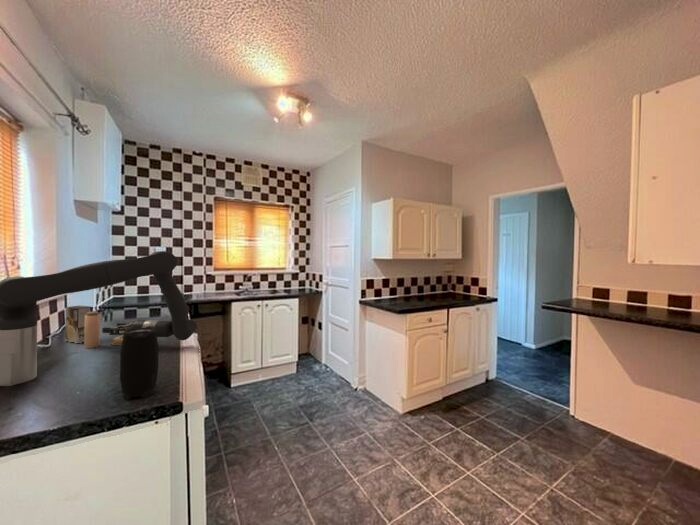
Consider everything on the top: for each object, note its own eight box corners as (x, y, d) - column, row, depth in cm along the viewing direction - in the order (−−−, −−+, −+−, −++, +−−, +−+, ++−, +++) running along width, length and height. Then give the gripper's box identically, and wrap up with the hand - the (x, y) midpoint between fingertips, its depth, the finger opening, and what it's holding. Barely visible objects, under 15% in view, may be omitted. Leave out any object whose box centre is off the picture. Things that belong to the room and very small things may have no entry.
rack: (133, 345, 139) (134, 339, 139) (111, 344, 138) (111, 339, 138) (150, 338, 151) (150, 333, 151) (129, 337, 150) (129, 332, 150)
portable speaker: (113, 397, 89) (115, 329, 89) (148, 385, 97) (149, 324, 97) (129, 404, 85) (130, 334, 85) (163, 392, 93) (164, 327, 93)
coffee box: (93, 340, 144) (94, 306, 144) (78, 344, 138) (78, 308, 138) (79, 338, 147) (80, 305, 147) (64, 342, 141) (64, 307, 141)
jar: (93, 348, 133) (94, 313, 132) (81, 348, 132) (81, 313, 132) (102, 345, 138) (103, 311, 138) (90, 344, 138) (91, 311, 137)
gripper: (157, 317, 143) (121, 316, 142) (137, 323, 129) (97, 322, 128) (157, 333, 143) (121, 332, 142) (137, 341, 129) (97, 340, 128)
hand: (110, 327), depth 135 cm, fingers open, 8 cm apart
